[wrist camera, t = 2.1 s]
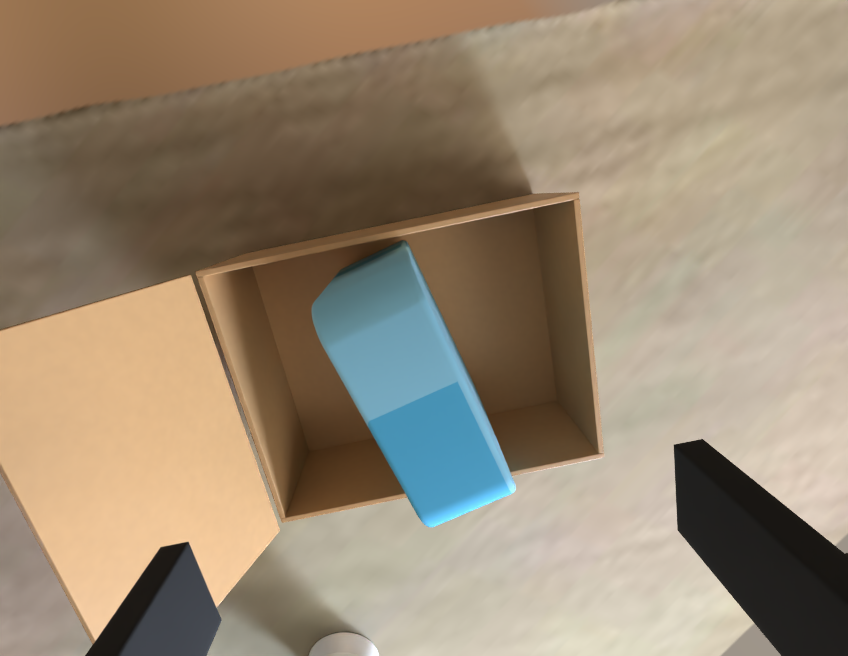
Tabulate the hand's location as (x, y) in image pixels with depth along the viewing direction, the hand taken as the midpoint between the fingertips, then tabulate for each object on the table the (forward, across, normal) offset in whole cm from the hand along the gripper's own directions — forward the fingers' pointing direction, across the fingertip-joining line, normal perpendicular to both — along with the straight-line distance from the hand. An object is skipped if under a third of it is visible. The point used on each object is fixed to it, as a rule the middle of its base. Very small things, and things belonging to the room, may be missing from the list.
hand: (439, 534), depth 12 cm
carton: (+19, 0, 0) cm, 19 cm away
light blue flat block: (+19, 0, 0) cm, 19 cm away
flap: (+7, -11, 0) cm, 13 cm away
